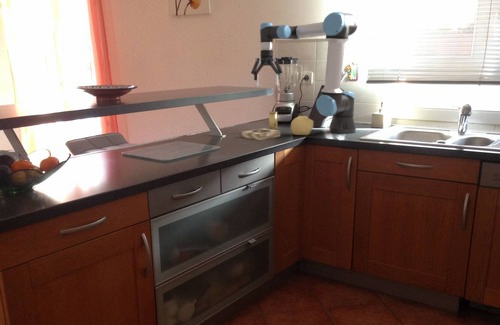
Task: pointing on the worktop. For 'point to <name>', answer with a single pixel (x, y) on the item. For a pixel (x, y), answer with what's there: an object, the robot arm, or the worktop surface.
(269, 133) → the jig
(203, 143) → the worktop surface
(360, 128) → the worktop surface
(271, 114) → the bushing
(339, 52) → the robot arm
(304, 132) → the pale yellow round lump
